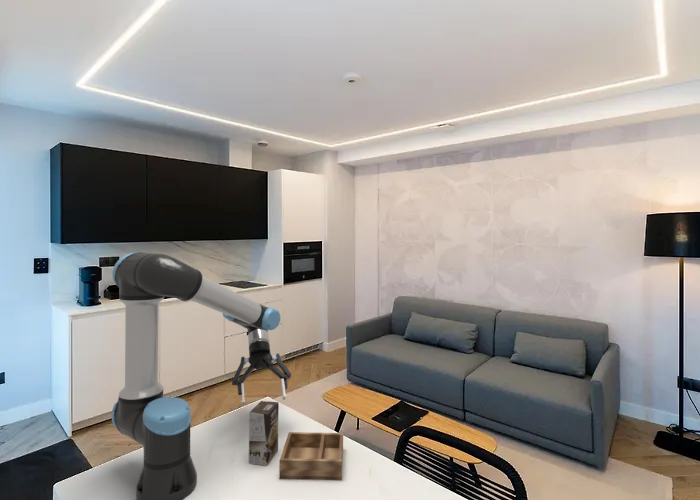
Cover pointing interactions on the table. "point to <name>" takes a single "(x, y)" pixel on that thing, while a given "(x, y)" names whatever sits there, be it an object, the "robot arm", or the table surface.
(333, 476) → the caddy
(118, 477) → the table surface
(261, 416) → the coffee box
